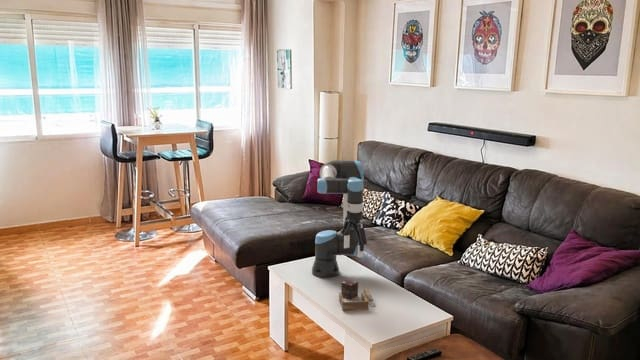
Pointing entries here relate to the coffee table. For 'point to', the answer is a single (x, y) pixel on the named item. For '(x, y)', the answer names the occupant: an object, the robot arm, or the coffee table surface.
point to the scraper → (369, 298)
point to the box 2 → (354, 303)
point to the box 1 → (349, 289)
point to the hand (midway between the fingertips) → (353, 252)
